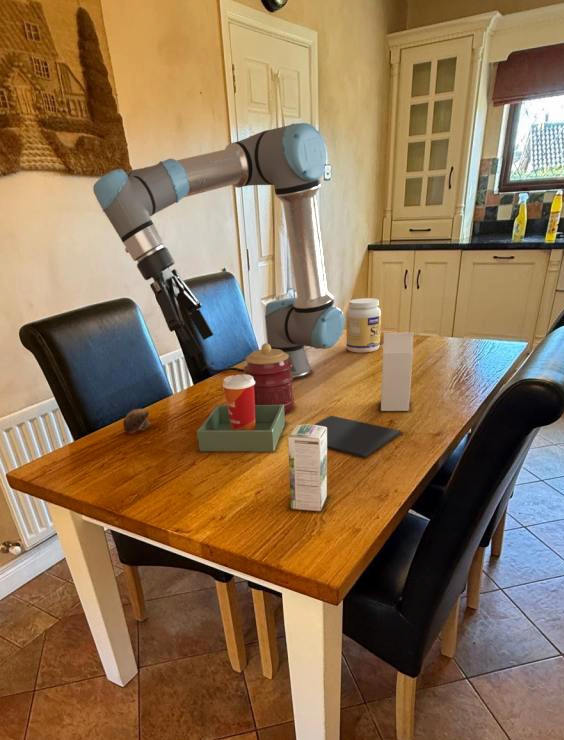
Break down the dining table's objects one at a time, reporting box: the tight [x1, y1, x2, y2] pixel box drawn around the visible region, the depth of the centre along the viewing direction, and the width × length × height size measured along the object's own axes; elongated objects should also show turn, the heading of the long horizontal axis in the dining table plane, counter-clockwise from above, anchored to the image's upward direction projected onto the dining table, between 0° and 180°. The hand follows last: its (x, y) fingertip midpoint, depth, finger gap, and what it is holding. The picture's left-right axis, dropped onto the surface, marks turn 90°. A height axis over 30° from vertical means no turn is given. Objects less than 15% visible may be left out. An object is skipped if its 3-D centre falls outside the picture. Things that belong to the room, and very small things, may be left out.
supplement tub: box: [345, 297, 382, 354], centre depth 185 cm, size 12×12×17 cm
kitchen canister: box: [242, 342, 295, 414], centre depth 137 cm, size 13×13×18 cm
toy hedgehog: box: [122, 408, 153, 434], centre depth 133 cm, size 8×8×6 cm
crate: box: [196, 404, 286, 453], centre depth 125 cm, size 18×18×5 cm
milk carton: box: [380, 331, 414, 412], centre depth 131 cm, size 7×7×19 cm
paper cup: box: [222, 373, 256, 430], centre depth 122 cm, size 8×8×14 cm
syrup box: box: [287, 424, 328, 512], centre depth 92 cm, size 6×6×14 cm
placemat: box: [313, 415, 401, 459], centre depth 122 cm, size 20×16×1 cm
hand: (202, 345), depth 118 cm, fingers open, 13 cm apart
